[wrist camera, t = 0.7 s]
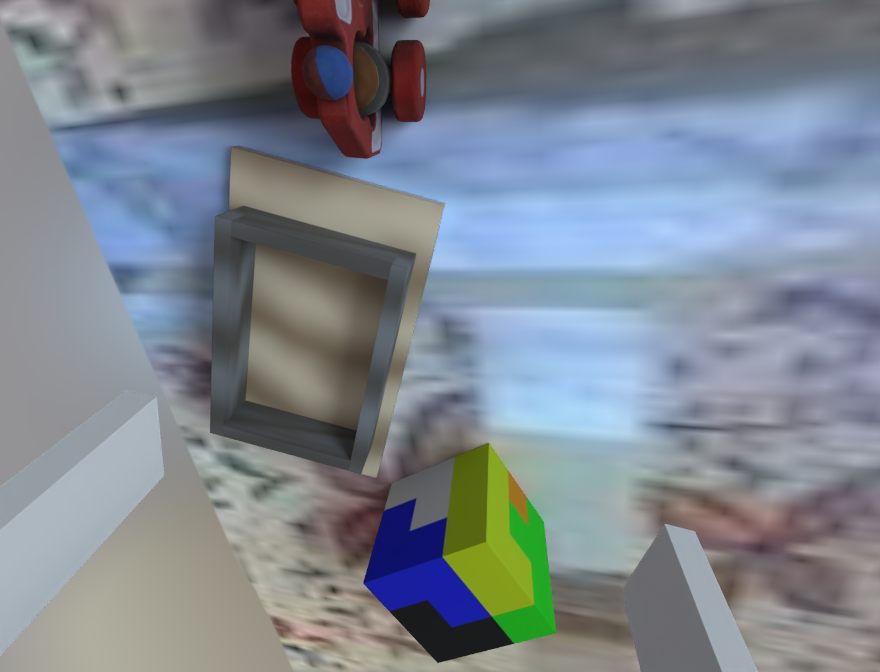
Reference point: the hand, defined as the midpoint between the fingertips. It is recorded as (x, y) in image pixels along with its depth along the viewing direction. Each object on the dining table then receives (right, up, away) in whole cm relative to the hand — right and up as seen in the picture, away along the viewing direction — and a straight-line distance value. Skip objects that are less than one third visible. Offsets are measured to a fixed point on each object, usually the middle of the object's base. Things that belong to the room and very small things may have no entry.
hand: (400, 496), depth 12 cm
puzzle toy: (+4, -11, +30) cm, 32 cm away
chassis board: (-8, +4, +24) cm, 25 cm away
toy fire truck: (-3, +22, +15) cm, 26 cm away
